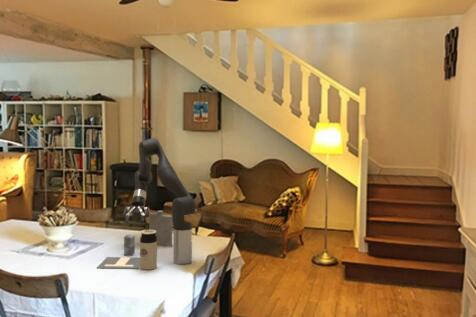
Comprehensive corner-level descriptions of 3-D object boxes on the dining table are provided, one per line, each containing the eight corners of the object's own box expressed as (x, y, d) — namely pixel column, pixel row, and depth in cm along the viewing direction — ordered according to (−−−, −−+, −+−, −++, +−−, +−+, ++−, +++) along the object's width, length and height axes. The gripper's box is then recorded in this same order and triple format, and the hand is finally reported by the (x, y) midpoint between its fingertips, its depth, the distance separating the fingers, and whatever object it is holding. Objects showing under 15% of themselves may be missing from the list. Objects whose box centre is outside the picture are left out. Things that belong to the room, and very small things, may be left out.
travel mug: (149, 263, 216) (149, 228, 214) (160, 267, 211) (160, 231, 209) (136, 267, 210) (136, 231, 208) (147, 271, 205) (147, 234, 203)
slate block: (134, 253, 233) (134, 235, 232) (132, 255, 229) (132, 237, 228) (126, 253, 233) (126, 235, 232) (124, 255, 229) (124, 237, 228)
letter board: (145, 258, 224) (145, 257, 224) (137, 269, 207) (137, 268, 207) (107, 257, 224) (107, 256, 224) (96, 268, 207) (96, 267, 207)
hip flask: (173, 245, 249) (173, 211, 247) (168, 247, 245) (169, 212, 244) (151, 241, 256) (151, 208, 255) (147, 243, 253) (147, 209, 251)
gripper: (125, 195, 249) (120, 218, 238) (150, 195, 249) (146, 219, 239) (128, 202, 255) (123, 225, 244) (152, 202, 255) (148, 226, 244)
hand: (134, 222), depth 241 cm, fingers open, 8 cm apart
